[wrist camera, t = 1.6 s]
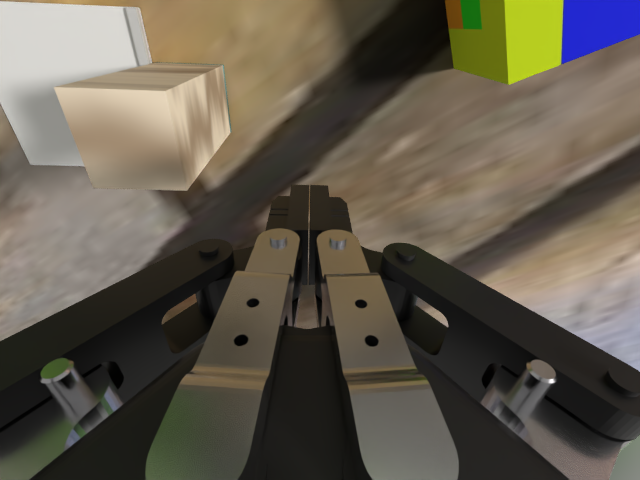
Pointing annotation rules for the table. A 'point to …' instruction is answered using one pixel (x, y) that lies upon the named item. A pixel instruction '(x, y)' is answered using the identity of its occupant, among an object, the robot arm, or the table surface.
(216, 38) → the table surface
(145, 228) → the table surface
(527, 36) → the puzzle toy
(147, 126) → the maple block
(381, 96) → the table surface
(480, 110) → the table surface
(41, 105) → the mat
